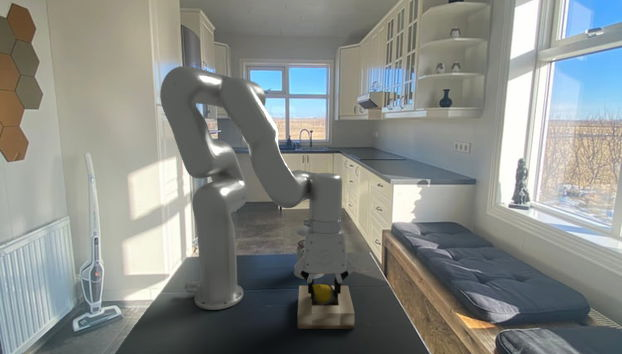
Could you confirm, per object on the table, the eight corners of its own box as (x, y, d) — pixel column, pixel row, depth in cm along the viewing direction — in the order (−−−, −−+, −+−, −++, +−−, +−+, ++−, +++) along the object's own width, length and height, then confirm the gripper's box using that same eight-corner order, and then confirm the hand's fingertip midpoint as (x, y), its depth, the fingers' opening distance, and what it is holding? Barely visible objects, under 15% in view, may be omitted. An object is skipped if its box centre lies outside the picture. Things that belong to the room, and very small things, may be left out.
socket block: (297, 328, 76) (297, 313, 75) (299, 298, 89) (299, 285, 88) (354, 328, 76) (354, 313, 75) (347, 299, 89) (347, 285, 88)
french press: (289, 268, 107) (289, 193, 103) (321, 263, 112) (322, 190, 108) (300, 281, 98) (300, 199, 94) (335, 275, 103) (336, 196, 99)
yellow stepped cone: (340, 306, 82) (324, 292, 76) (321, 312, 84) (303, 298, 77) (337, 286, 86) (321, 270, 79) (318, 291, 87) (301, 277, 80)
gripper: (288, 229, 75) (288, 303, 78) (363, 230, 75) (361, 304, 78) (290, 220, 82) (290, 288, 85) (358, 220, 82) (356, 288, 85)
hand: (324, 295), depth 82 cm, fingers closed on yellow stepped cone, 5 cm apart
